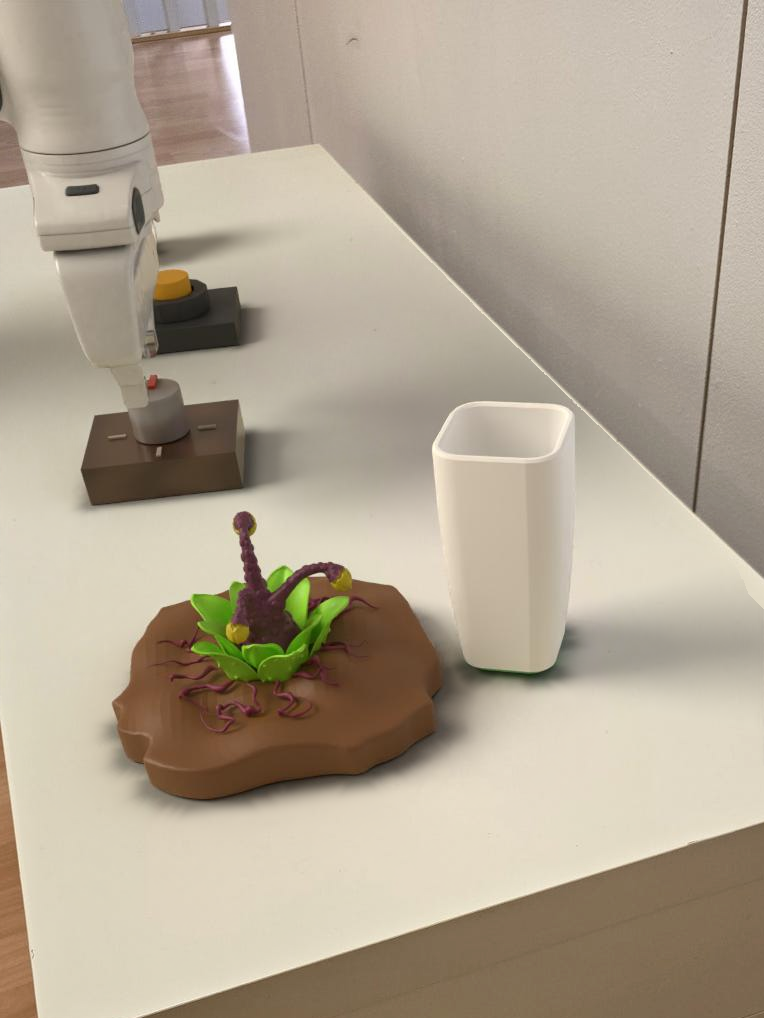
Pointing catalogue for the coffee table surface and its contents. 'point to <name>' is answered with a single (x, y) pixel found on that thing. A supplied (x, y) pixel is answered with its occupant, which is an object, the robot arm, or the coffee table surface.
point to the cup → (507, 529)
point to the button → (172, 285)
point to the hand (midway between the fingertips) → (143, 378)
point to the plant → (277, 681)
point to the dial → (160, 413)
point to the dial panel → (165, 456)
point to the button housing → (198, 319)
